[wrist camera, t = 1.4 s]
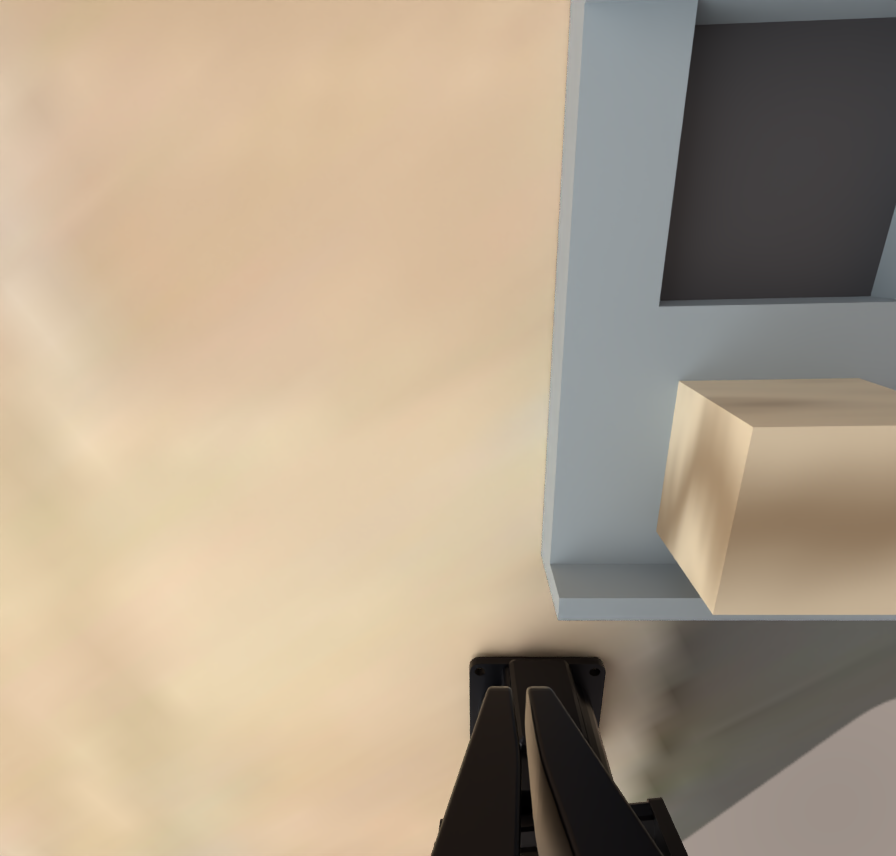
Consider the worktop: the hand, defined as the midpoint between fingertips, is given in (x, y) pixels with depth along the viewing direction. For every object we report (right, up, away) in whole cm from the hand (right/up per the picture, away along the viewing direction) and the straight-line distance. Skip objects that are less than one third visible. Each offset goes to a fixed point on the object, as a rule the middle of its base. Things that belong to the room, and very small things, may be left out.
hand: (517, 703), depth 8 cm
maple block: (+10, +4, +9) cm, 14 cm away
